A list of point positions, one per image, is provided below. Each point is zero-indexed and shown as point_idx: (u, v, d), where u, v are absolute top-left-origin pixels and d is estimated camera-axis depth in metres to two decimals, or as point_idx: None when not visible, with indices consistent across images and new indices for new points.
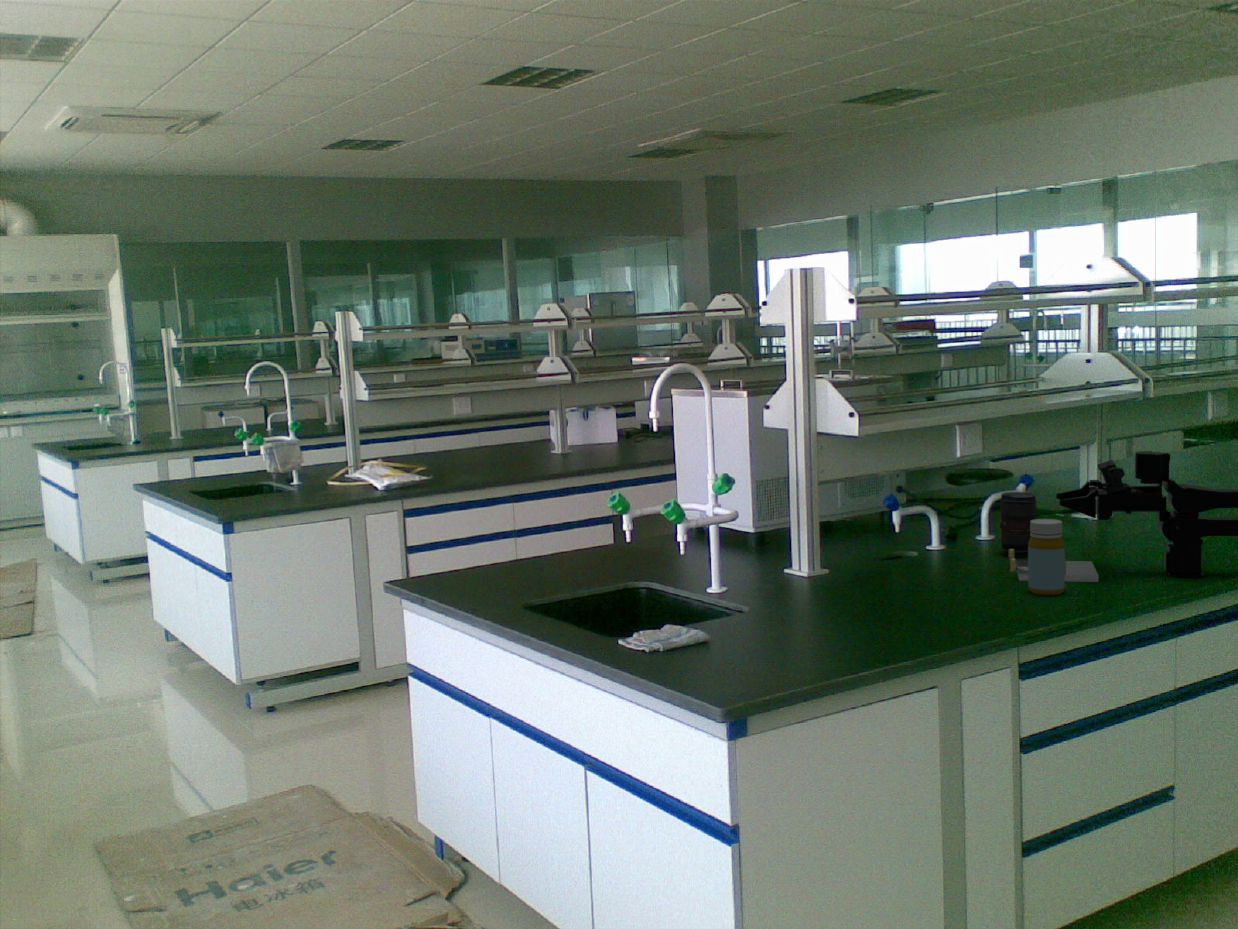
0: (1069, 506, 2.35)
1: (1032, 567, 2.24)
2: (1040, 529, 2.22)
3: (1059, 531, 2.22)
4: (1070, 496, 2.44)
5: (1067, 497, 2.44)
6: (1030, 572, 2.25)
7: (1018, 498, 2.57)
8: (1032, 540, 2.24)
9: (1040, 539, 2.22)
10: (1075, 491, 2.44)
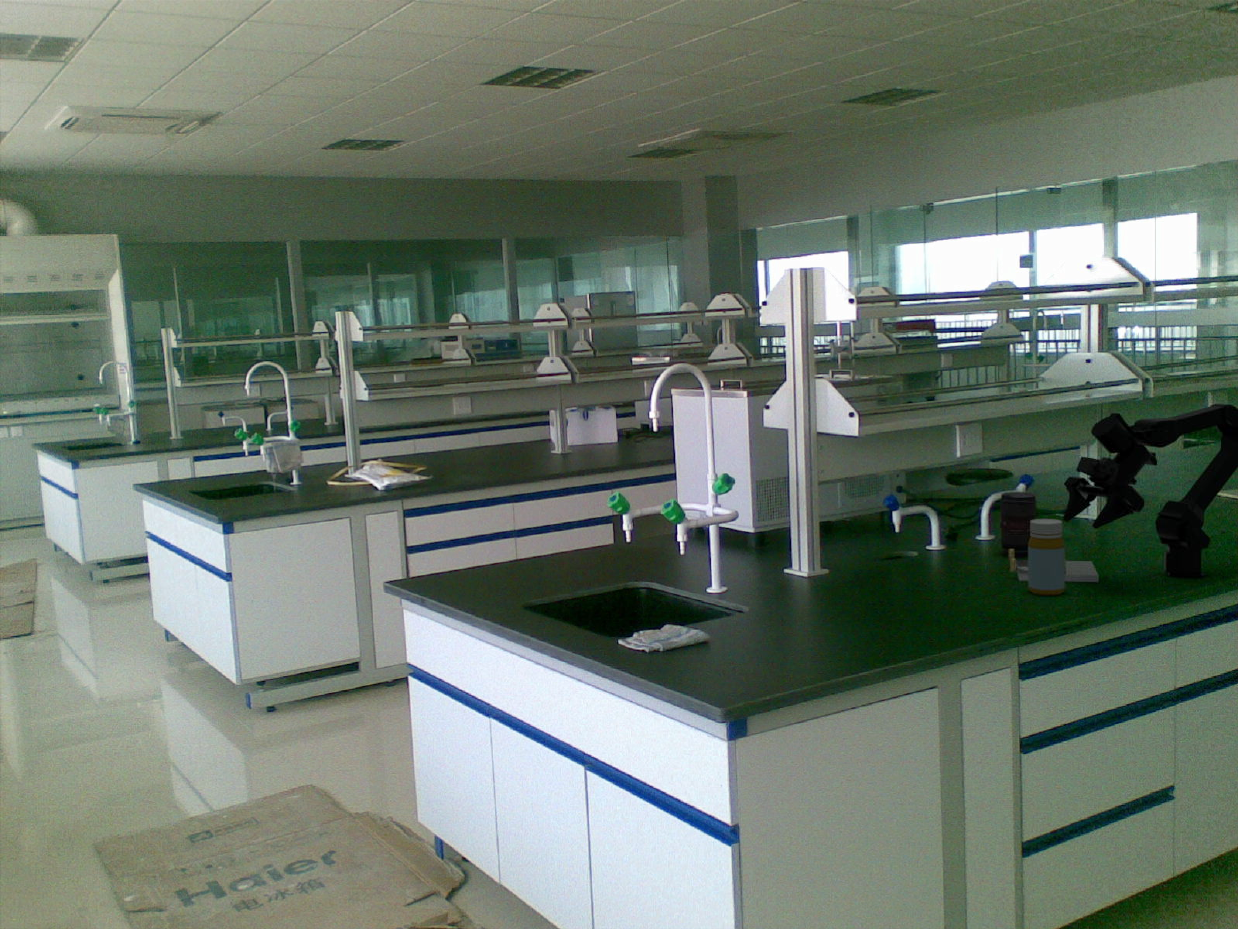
0: (1104, 523, 2.22)
1: (1032, 567, 2.24)
2: (1040, 529, 2.22)
3: (1059, 531, 2.22)
4: (1073, 510, 2.31)
5: (1072, 513, 2.31)
6: (1030, 572, 2.25)
7: (1018, 498, 2.57)
8: (1032, 540, 2.24)
9: (1040, 539, 2.22)
10: (1072, 503, 2.31)
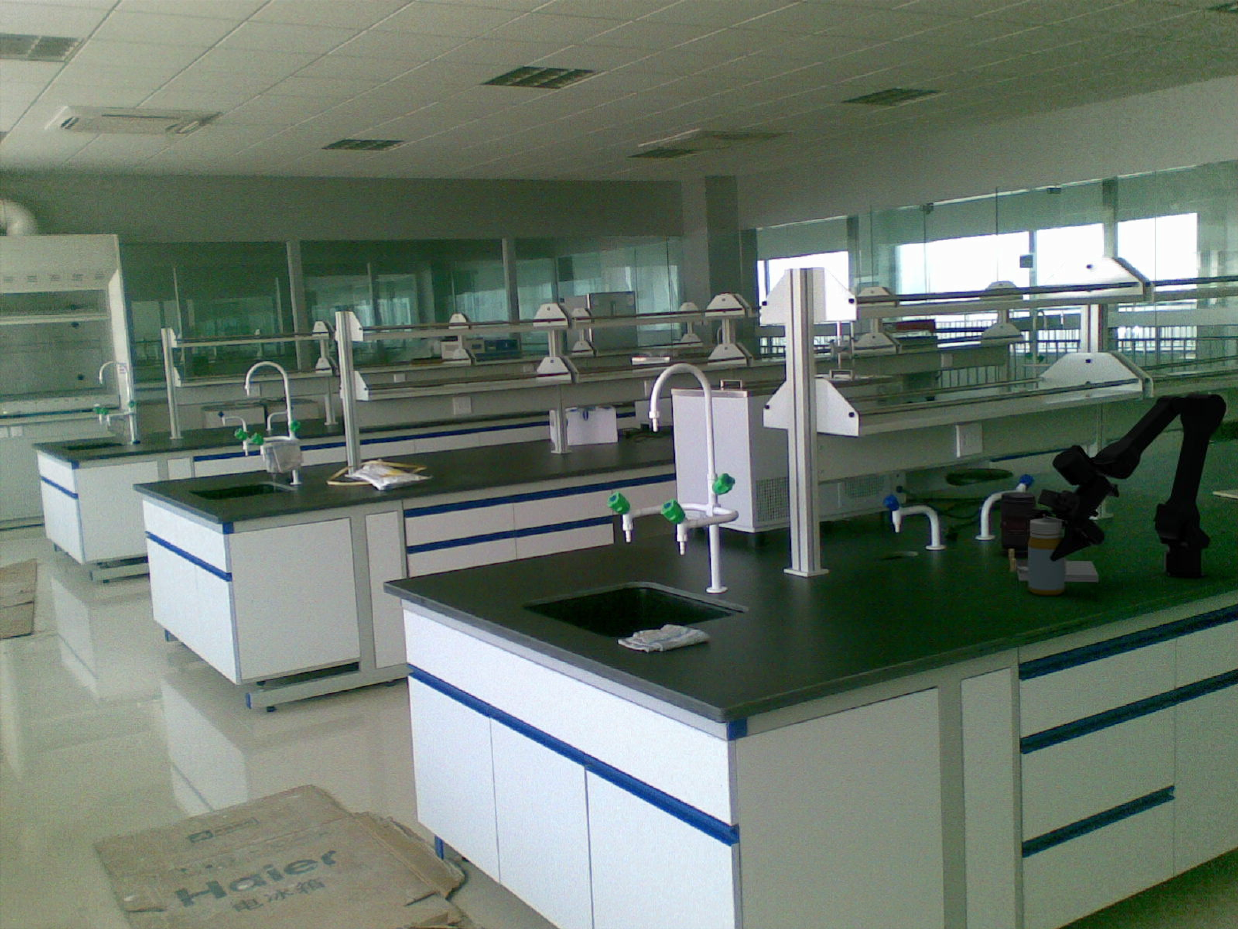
0: (1062, 555, 2.21)
1: (1032, 567, 2.24)
2: (1040, 529, 2.22)
3: (1059, 531, 2.22)
4: None
5: None
6: (1030, 572, 2.25)
7: (1018, 498, 2.57)
8: (1032, 540, 2.24)
9: (1040, 539, 2.22)
10: None
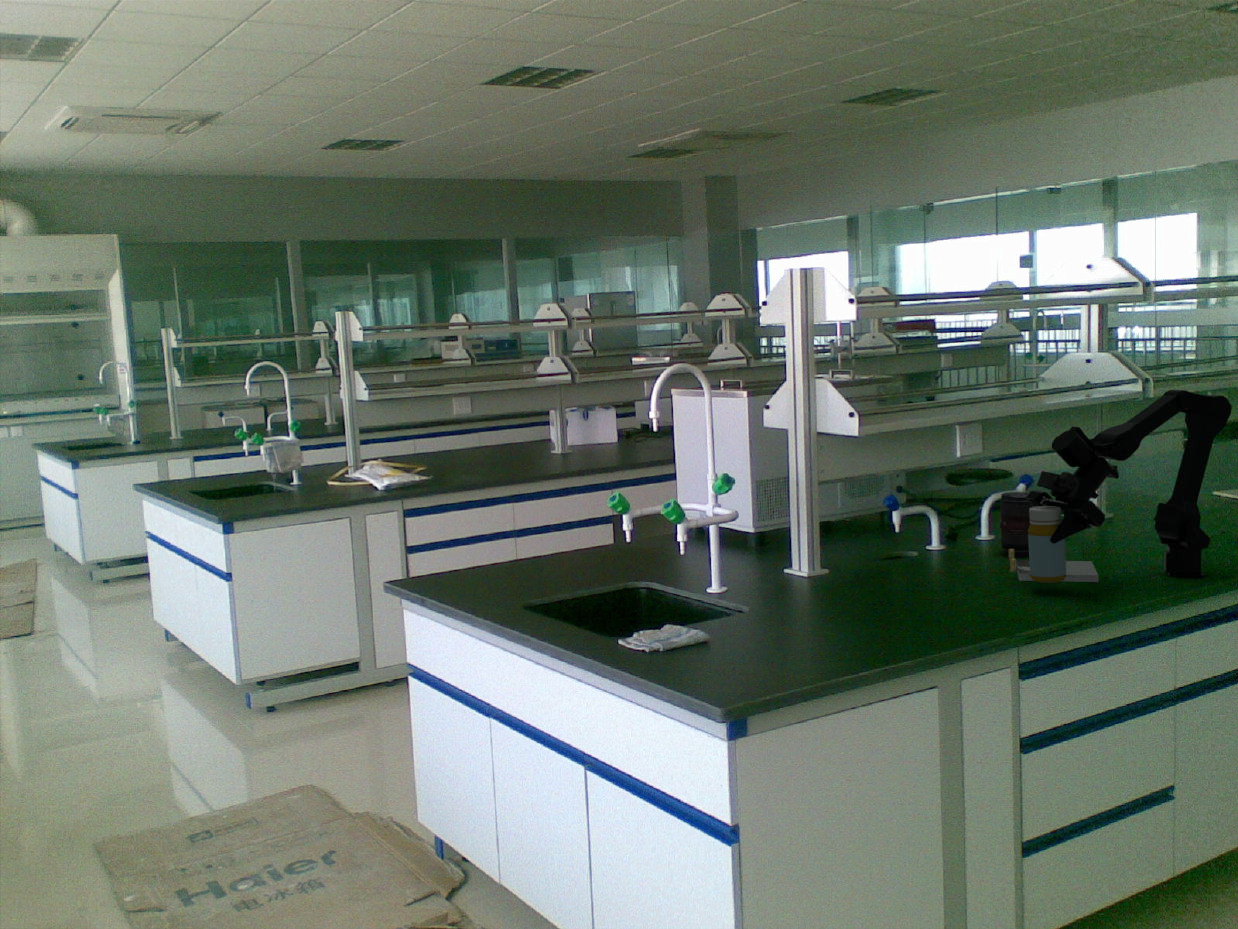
0: (1062, 537, 2.21)
1: (1032, 554, 2.24)
2: (1039, 516, 2.22)
3: (1058, 517, 2.22)
4: None
5: None
6: (1031, 560, 2.25)
7: (1018, 498, 2.57)
8: (1031, 527, 2.24)
9: (1039, 526, 2.22)
10: None
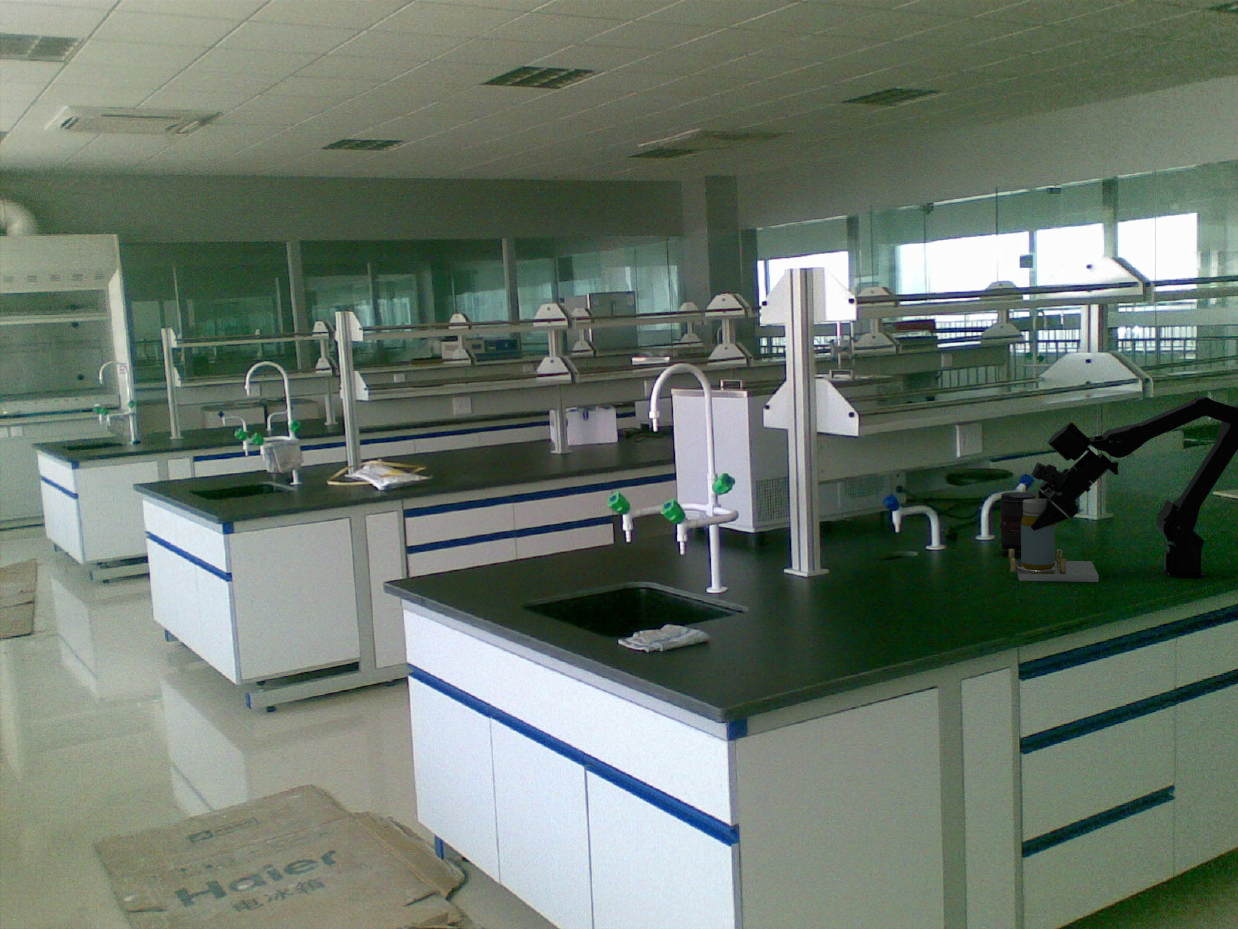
0: (1042, 525, 2.36)
1: (1021, 541, 2.42)
2: (1026, 507, 2.39)
3: None
4: None
5: None
6: (1021, 547, 2.43)
7: (1018, 498, 2.57)
8: (1022, 517, 2.42)
9: (1026, 517, 2.40)
10: None
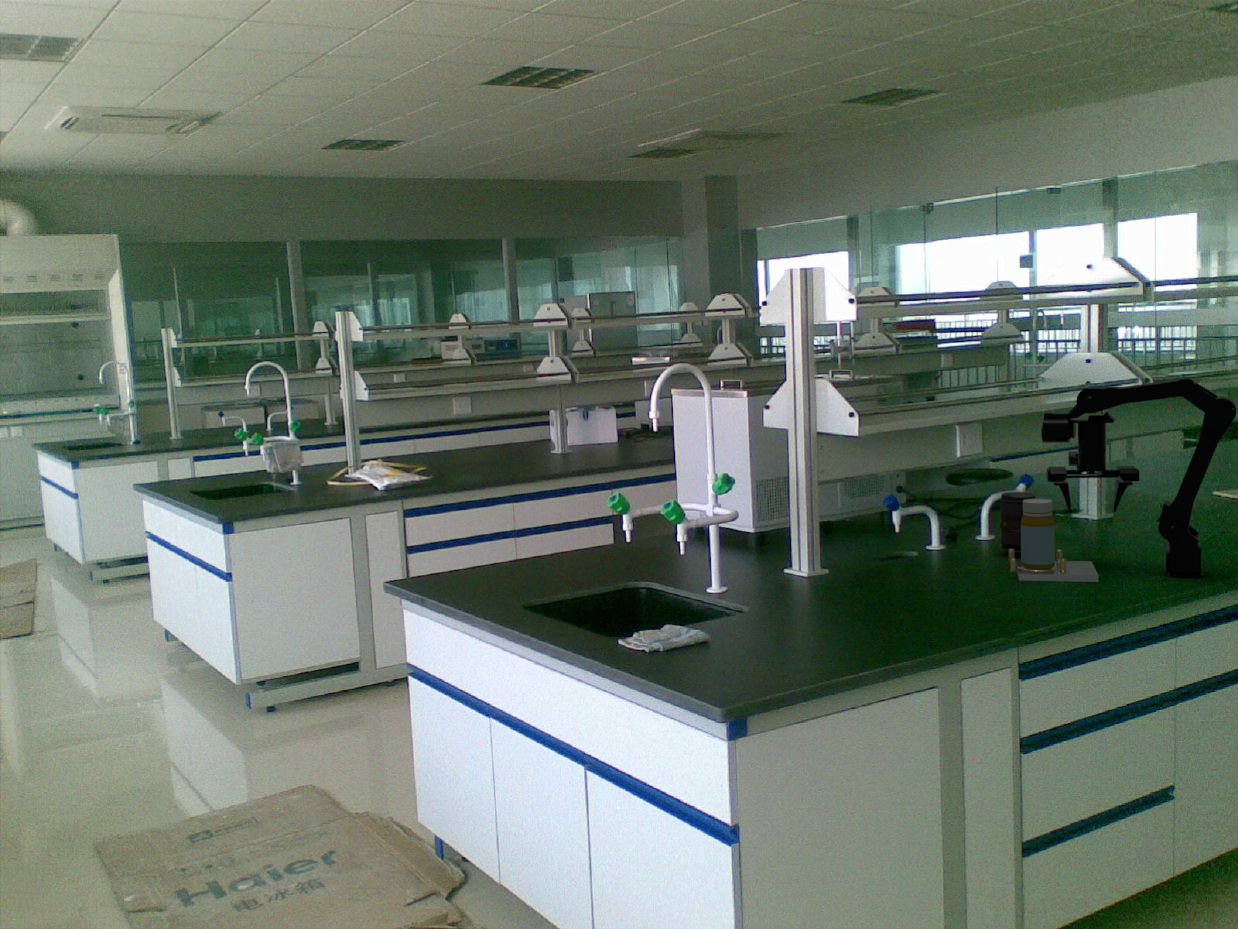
0: (1066, 504, 2.44)
1: (1021, 541, 2.42)
2: (1025, 507, 2.39)
3: (1043, 510, 2.37)
4: (1114, 499, 2.41)
5: (1114, 501, 2.41)
6: None
7: (1018, 498, 2.57)
8: (1022, 517, 2.42)
9: (1026, 517, 2.40)
10: (1114, 493, 2.42)
